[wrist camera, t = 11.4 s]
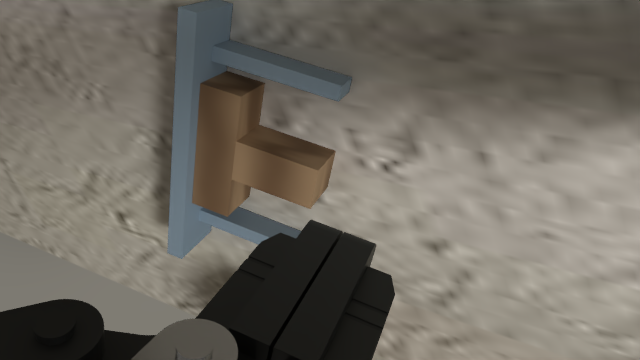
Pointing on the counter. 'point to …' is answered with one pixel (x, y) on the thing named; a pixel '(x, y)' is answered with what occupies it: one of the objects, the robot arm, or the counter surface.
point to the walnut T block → (250, 151)
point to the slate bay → (192, 69)
